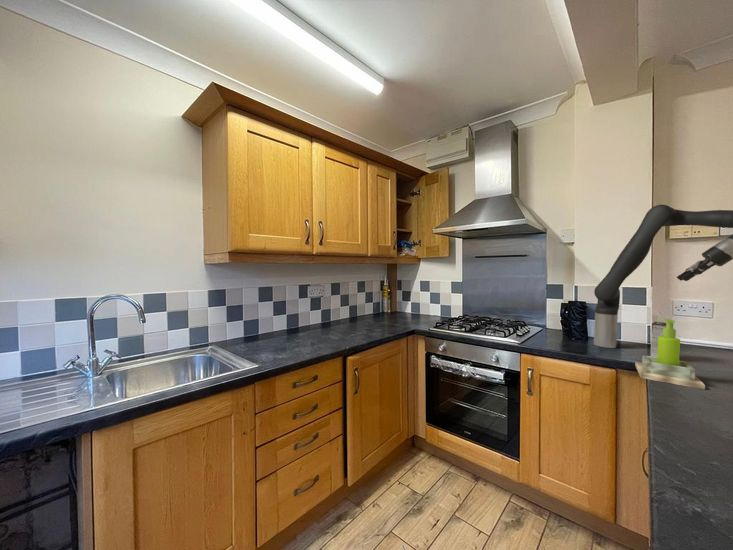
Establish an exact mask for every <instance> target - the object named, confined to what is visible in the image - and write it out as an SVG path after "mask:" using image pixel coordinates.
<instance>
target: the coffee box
mask: <svg viewBox="0 0 733 550" xmlns="http://www.w3.org/2000/svg"><path fill="white" fill-rule="evenodd" d="M663 328H666V322H665V321H663V322H662V321H654V322H652V323H651V336H650V340H651V341H650V356H651V357H657V349H658V337H659V336H663Z"/></svg>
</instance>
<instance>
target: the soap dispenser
mask: <svg viewBox="0 0 733 550" xmlns="http://www.w3.org/2000/svg"><path fill="white" fill-rule="evenodd" d="M662 321H663V322H665V323H666V328H663V336H659V337H658V349H657V363H660V364H667V365H673V366H679V361H680V352H681V339H680V338H677V337H676V336H677V335H676V334H677V330H676V329H675V328H674V324H675V320H673V319H666V318H664V319H662Z"/></svg>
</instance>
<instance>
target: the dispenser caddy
mask: <svg viewBox="0 0 733 550" xmlns="http://www.w3.org/2000/svg"><path fill="white" fill-rule="evenodd" d="M641 357H642V362H637V361H635V362H634V365H635V368H636V371H637V373H638V375H639V378H640V379H644V380H649V381H656V382H661V383H662V382H663V383H666V384H667V383H668V384H671V385H672V384H673V385H679V386H685V387H689V388H694V389H699V390H705V389H706V385H705V384H704V382H703V381H701V379H700V378H699V377H698V376H697V375H696V369H695V368H694V367H693V366H692V365H691V364H690V363H689V362H688V361H684V360H679V366H673V365H667V364H660V363H657V357H651V355H642V356H641Z"/></svg>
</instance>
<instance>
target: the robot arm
mask: <svg viewBox="0 0 733 550" xmlns="http://www.w3.org/2000/svg"><path fill="white" fill-rule="evenodd" d="M672 226H673V227H675V226H676V227H677V226H699V227H712V228H713V227H714V228H724V229H725V228H727V229H733V209H731V210H730V209H727V210H726V209H713V210H711V209H710V210H699V211H698V210H697V211H695V210H694V211H690V210H683V209H676V208H674V207H671V206H670V205H666V204H657V205H654V206H652V207H651V208H650V209H648V210H647V212H646V214H645V215H644V217H643V219H642V221H641V223H640V224H639V226H638V227H637V228H638V229H637V230H636V232H635V233H634V234H633V235H632V237H631V238H630V239H629V241H628V242H627V243H626V245H625V246H624V248H623V249H622V251H620V253H619V255H618V256H617V257H616V260H615V261H614V262H613V264H612V266H611V268H610V269H609V271H608V273H606V275H605V276H604V277H603V279H602V280H601V281H600V282H599V283H598V284H597V285H596V287H595V288H594V291H593V293H594V296H595V298H596V299H597V303H596V306H595V309H594V311H595V312H594V327H593V328H594V331H593V332H594V333H593V346H597V347H601V348H606V349H615V348H617V340H618V339H617V336H618V320H619V318H618V315H619V309H620V299H621V289H620V288H621V286H622V285H623V282H624V281H625V280H626V279H627V278H628V277H629V276H630V275H631V274H632V273H634V272H635V271H636V269H638V268H639V267H640V266H641V264H642V262H644V260H645V259H646V258H647V256H648V255H649V252H650V249H651V246H652V243H653V241H654V239H655V237H656V236H657V234H658V232H659V231H660V230H661V228H662V227H672ZM701 256H702V257H703V258H704V259H703V260H698V261H696V262H695V263H694V264H692V265H690V266H689V267H688V268H686V269H685V270H684V271H683V272H682V273H681V274H678V275H677V276H676V279H677V280H679V281H684V282H688V281H690V280H691V279H693V278H694V277H696V276H699V275H702V274H703V273H705V272H706V271H708V270H709V269H711V268H713V267H714V266H717V267H723V266H724V265H726V264H728V263H729V262H731V261H733V233H732V234H731V235H729V236H727V237H725V238H724V239H722V240H720V241H719V242H717V243H716V244H714V245H712V246H711V247H710V248H708V249H706V250H704V252H702V253H701Z"/></svg>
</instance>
